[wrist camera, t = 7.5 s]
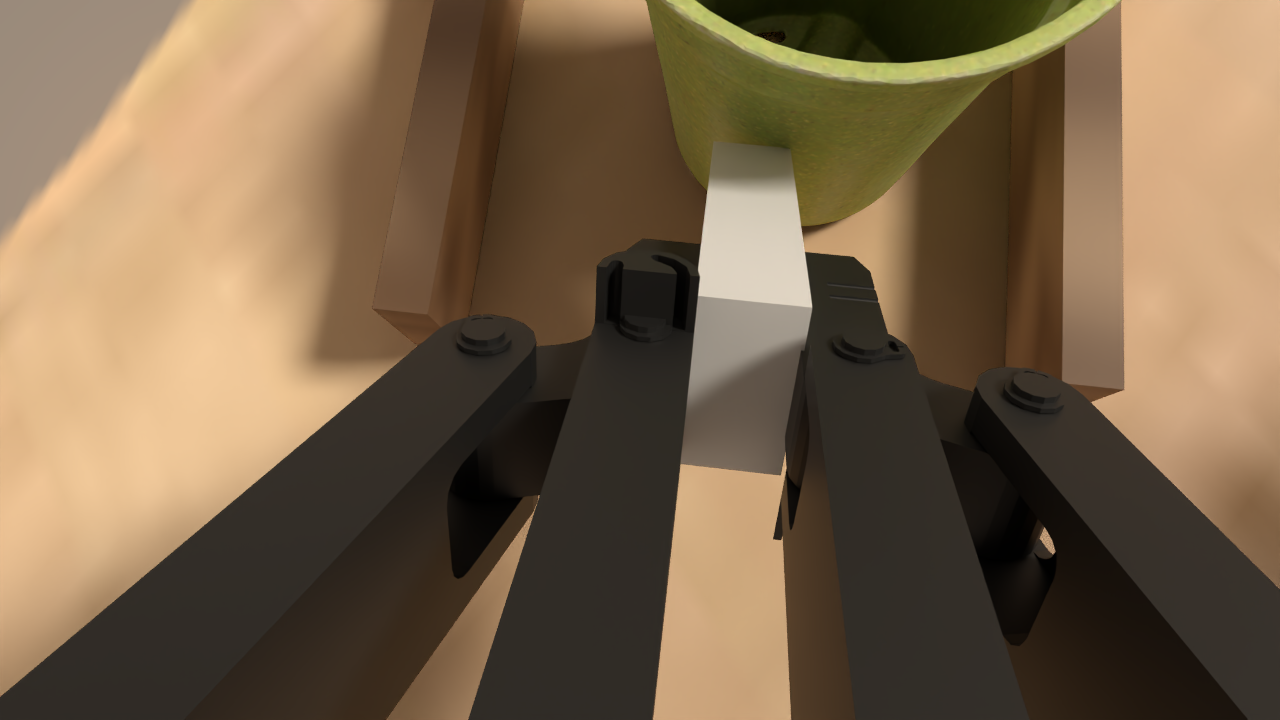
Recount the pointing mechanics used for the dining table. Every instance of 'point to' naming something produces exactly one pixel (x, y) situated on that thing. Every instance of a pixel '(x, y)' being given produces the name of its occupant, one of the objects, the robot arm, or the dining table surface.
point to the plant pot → (843, 80)
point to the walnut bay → (1038, 203)
